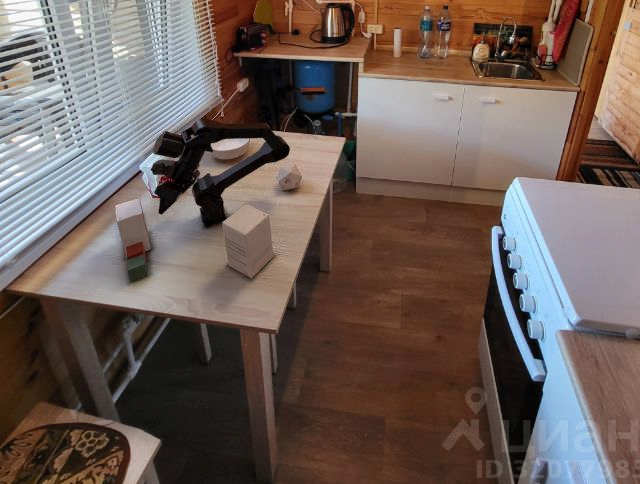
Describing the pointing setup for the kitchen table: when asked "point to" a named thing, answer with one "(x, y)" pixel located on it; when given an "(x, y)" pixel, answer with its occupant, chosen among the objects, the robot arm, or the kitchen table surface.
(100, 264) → the kitchen table surface
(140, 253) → the brick red block
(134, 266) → the dark green block
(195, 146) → the robot arm
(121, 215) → the small box
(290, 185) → the die
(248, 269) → the rectangular carton
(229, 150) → the cereal bowl
